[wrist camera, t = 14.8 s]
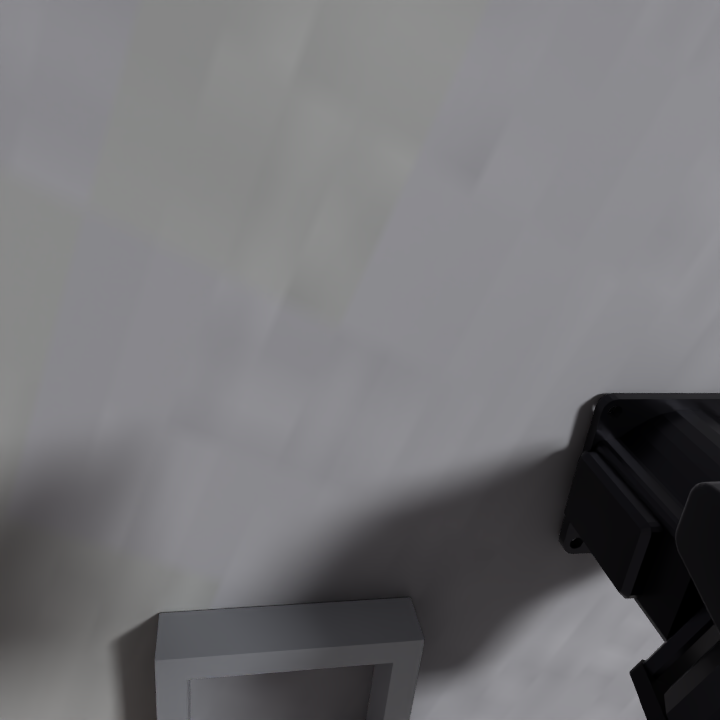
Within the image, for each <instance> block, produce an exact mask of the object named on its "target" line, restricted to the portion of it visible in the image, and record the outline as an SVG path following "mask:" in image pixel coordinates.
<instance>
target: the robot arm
mask: <svg viewBox="0 0 720 720" xmlns="http://www.w3.org/2000/svg"><path fill="white" fill-rule="evenodd" d="M613 406H616V407H615V409H614V410H613V411H612V412H610V413H608V412H609V410H610V409H611V408H612V407H613ZM564 513H565V517H564V520H563V524H562V528H561V531H560V535H559V542H560V544H561V545H562V547H563V548H564V550H565V551H566V552H567V553H571V554H579V553H592V554H593V556H594V557H595V559H596V560H597V562H598V563H599V564H600V566H601V567H602V569H603V570H604V572H605V573H606V575H607V576H608V577H609V579H610V580H611V582H612V583H613V585H614V586H615V587H616V589H617V590H618V592H619V593H620V594H621V595H622V596H623V597H624V598H625V599H626V598H634V599H635V601H636V602H637V604H638V605H639V606H640V608H641V609H642V611H643V612H644V613H645V615H646V616H647V618H648V619H649V620H650V622H651V623H652V625H653V626H654V627H655V629H656V630H657V632H658V633H659V634H660V636H661V637H662V639H663V640H664V641H665V642H664V643H663V644H662V645H661V646H660V647H659V648H658V649H657V650H656V651H655V652H654V653H653V654H652V655H651V656H650V657H649V658H648V659H647V660H641V661H640V662H639V663H638V664H637V665H636V666H635V667H634V668H633V669H632V670H631V671H630V676H631V678H632V681H633V683H634V686H635V689H636V691H637V694H638V696H639V699H640V703H641V705H642V708H643V710H644V713H645V716H646V718H647V720H720V393H612V394H607V395H605V396H603V397H602V398H601V399H600V400H599V401H598V403H597V405H596V407H595V410H594V414H593V417H592V421H591V425H590V428H589V432H588V435H587V439H586V442H585V446H584V449H583V453H582V455H581V456H580V458H579V461H578V465H577V468H576V472H575V476H574V479H573V483H572V486H571V490H570V493H569V497H568V501H567V504H566V508H565V512H564ZM574 538H576V539H575V540H573V539H574ZM572 540H573V541H572Z"/></svg>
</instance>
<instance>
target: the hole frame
mask: <svg viewBox="0 0 720 720" xmlns="http://www.w3.org/2000/svg"><path fill="white" fill-rule="evenodd" d="M424 641H425V639H424V636H423V633H422V630H421V627H420V624H419V621H418V618H417V615H416V612H415V609H414V606H413V603H412V600H411V597H406V598H390V599H374V600H358V601H343V602H327V603H311V604H295V605H279V606H263V607H247V608H231V609H215V610H199V611H184V612H168V613H159V622H158V632H157V642H156V652H155V682H156V708H157V720H190V680H192V679H204V678H216V677H228V676H240V675H252V674H264V673H276V672H289V671H301V670H313V669H325V668H337V667H349V666H361V665H373V664H374V671H373V677H372V684H371V691H370V697H369V704H368V710H367V717H366V720H409V719H410V714H411V709H412V704H413V698H414V693H415V688H416V683H417V678H418V672H419V667H420V662H421V657H422V651H423V646H424Z"/></svg>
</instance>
